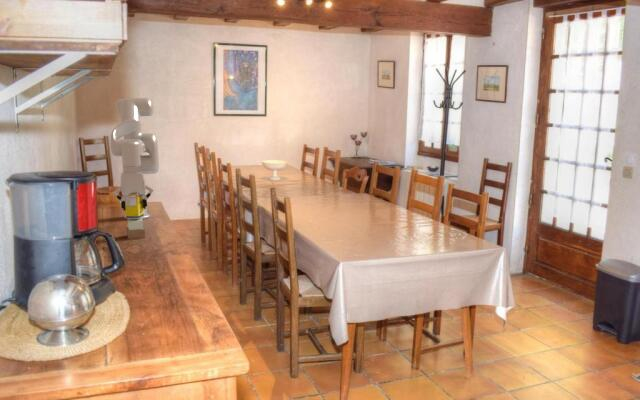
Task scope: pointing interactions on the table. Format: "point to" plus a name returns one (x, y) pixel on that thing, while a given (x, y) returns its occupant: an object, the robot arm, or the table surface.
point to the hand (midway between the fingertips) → (134, 209)
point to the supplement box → (134, 205)
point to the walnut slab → (135, 233)
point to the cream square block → (135, 223)
